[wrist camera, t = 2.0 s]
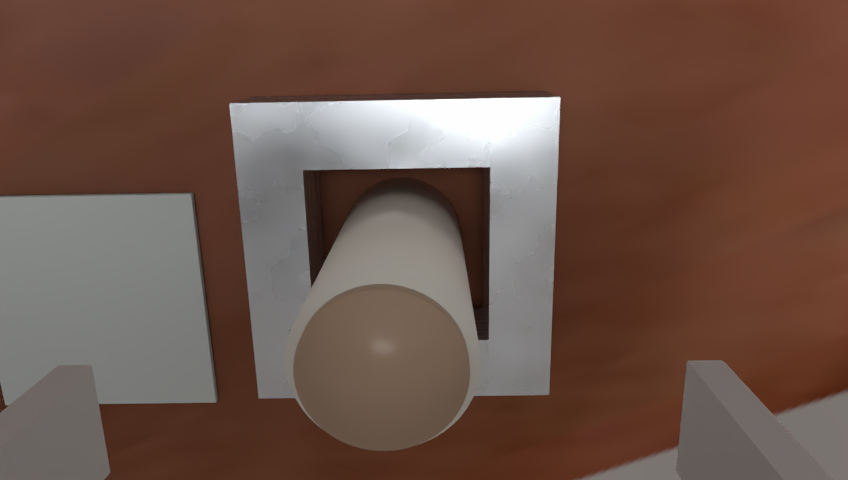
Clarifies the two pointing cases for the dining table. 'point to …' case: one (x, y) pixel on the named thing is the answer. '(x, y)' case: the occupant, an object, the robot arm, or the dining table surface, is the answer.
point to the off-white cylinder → (388, 324)
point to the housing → (398, 149)
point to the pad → (105, 295)
